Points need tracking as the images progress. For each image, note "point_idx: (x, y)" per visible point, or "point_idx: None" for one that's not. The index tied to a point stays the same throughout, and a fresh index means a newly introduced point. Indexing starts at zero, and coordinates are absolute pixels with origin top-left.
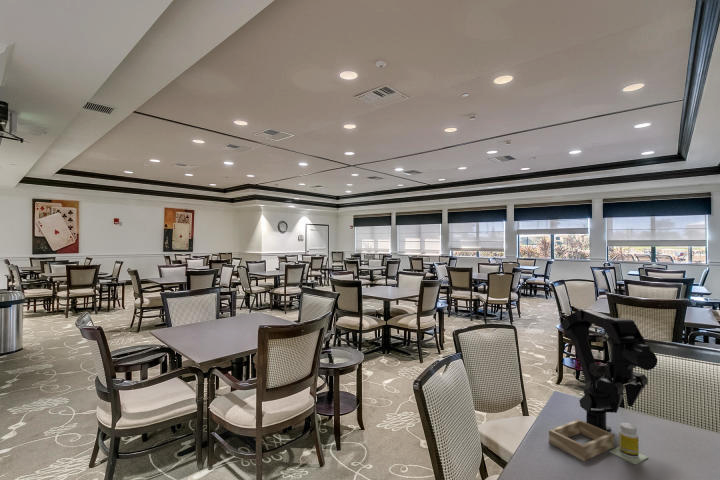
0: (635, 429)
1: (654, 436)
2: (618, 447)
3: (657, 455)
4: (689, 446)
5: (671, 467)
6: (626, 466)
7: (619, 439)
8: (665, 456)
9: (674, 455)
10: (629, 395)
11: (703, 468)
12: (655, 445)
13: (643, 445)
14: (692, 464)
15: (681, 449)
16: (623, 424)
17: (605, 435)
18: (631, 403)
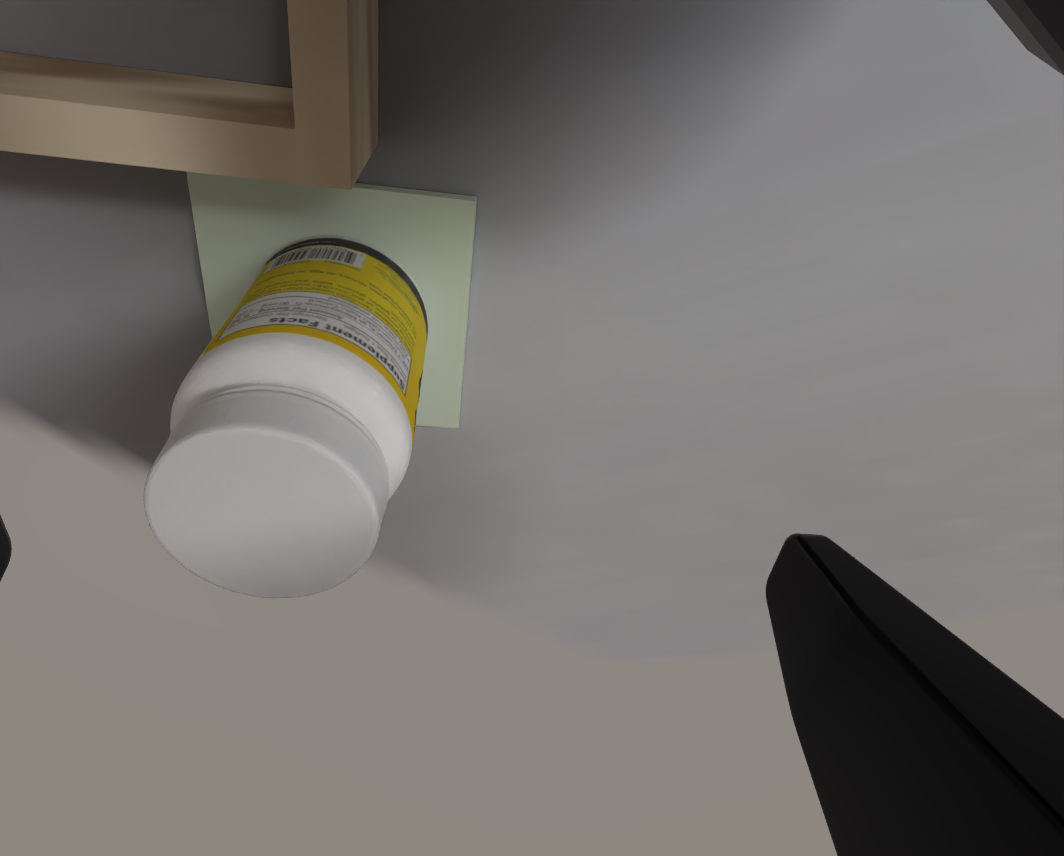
0: (261, 592)
1: (1032, 317)
2: (386, 197)
3: (592, 444)
4: (981, 523)
5: (471, 544)
6: (108, 368)
7: (228, 316)
8: (629, 480)
9: (709, 508)
10: (957, 841)
11: (649, 633)
12: (801, 381)
13: (710, 320)
14: (653, 594)
15: (873, 508)
16: (224, 472)
17: (174, 126)
18: (793, 661)
